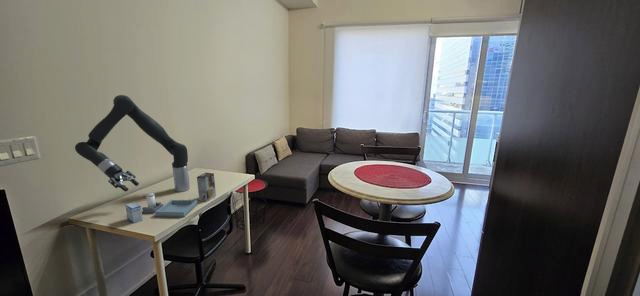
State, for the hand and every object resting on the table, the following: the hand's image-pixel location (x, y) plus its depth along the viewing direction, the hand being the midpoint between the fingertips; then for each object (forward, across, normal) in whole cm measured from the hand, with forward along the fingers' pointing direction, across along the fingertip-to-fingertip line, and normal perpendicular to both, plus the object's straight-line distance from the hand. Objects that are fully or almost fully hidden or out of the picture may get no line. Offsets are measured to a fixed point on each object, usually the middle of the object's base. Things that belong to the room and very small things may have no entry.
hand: (132, 187), depth 155 cm
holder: (+17, 0, +3) cm, 17 cm away
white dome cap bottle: (+17, 0, +3) cm, 17 cm away
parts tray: (+27, 0, -8) cm, 28 cm away
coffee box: (+34, +18, -15) cm, 42 cm away
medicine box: (+15, -12, +4) cm, 20 cm away
